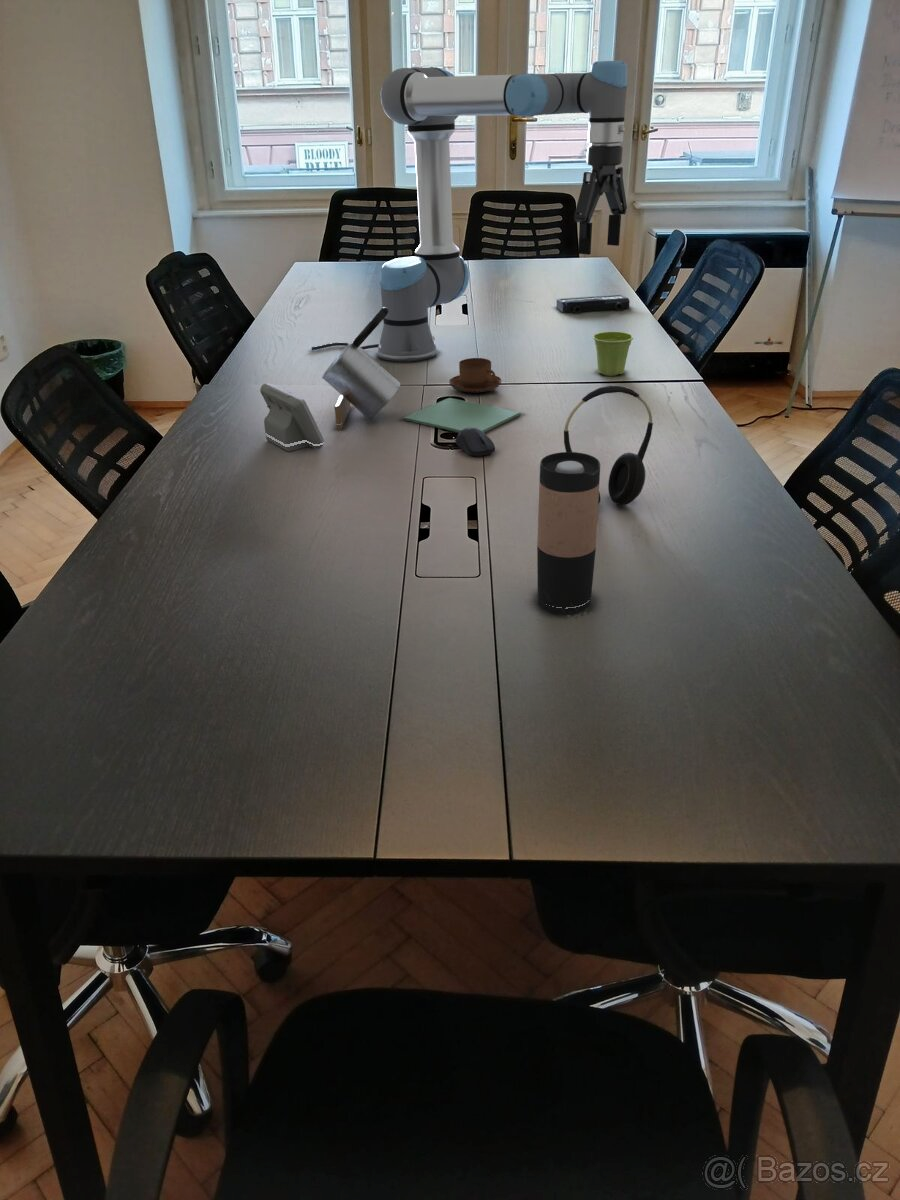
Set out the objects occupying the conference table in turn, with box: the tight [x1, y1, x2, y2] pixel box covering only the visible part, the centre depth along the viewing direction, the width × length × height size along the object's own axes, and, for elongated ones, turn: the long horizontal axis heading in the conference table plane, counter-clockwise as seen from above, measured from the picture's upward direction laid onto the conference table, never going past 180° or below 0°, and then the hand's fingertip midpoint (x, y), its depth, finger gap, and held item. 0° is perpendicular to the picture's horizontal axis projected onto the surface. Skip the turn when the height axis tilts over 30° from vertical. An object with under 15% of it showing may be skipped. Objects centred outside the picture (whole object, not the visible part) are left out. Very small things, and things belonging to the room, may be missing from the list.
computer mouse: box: [455, 427, 496, 457], centre depth 169 cm, size 6×9×4 cm, turn 28°
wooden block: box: [334, 393, 352, 430], centre depth 187 cm, size 1×14×5 cm, turn 178°
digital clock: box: [259, 383, 325, 452], centre depth 174 cm, size 16×9×11 cm, turn 26°
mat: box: [403, 397, 521, 434], centre depth 187 cm, size 19×16×1 cm
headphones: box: [563, 385, 654, 506], centre depth 141 cm, size 9×15×20 cm, turn 101°
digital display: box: [555, 294, 631, 314], centre depth 272 cm, size 21×3×10 cm
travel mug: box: [536, 451, 601, 615], centre depth 114 cm, size 8×8×20 cm
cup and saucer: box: [449, 357, 502, 394], centre depth 203 cm, size 12×12×6 cm
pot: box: [321, 307, 401, 420], centre depth 182 cm, size 16×10×23 cm, turn 88°
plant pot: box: [592, 331, 634, 377], centre depth 210 cm, size 9×9×9 cm
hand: (599, 249), depth 200 cm, fingers open, 13 cm apart
